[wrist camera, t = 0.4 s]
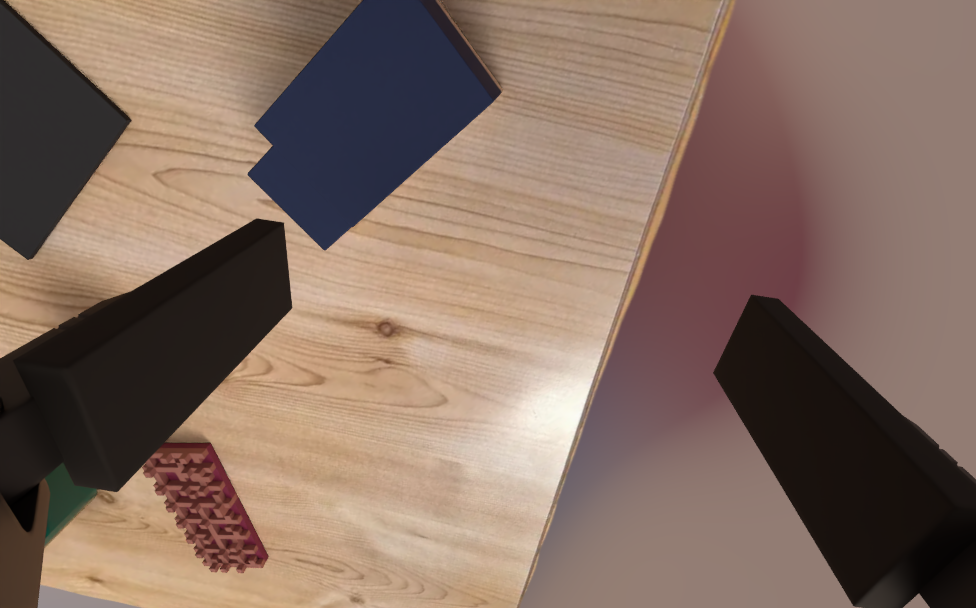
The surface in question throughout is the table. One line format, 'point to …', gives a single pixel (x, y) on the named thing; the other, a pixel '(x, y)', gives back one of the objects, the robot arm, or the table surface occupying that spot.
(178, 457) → the chocolate bar
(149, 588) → the table surface
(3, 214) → the mat
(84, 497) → the pitcher
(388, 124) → the navy block
